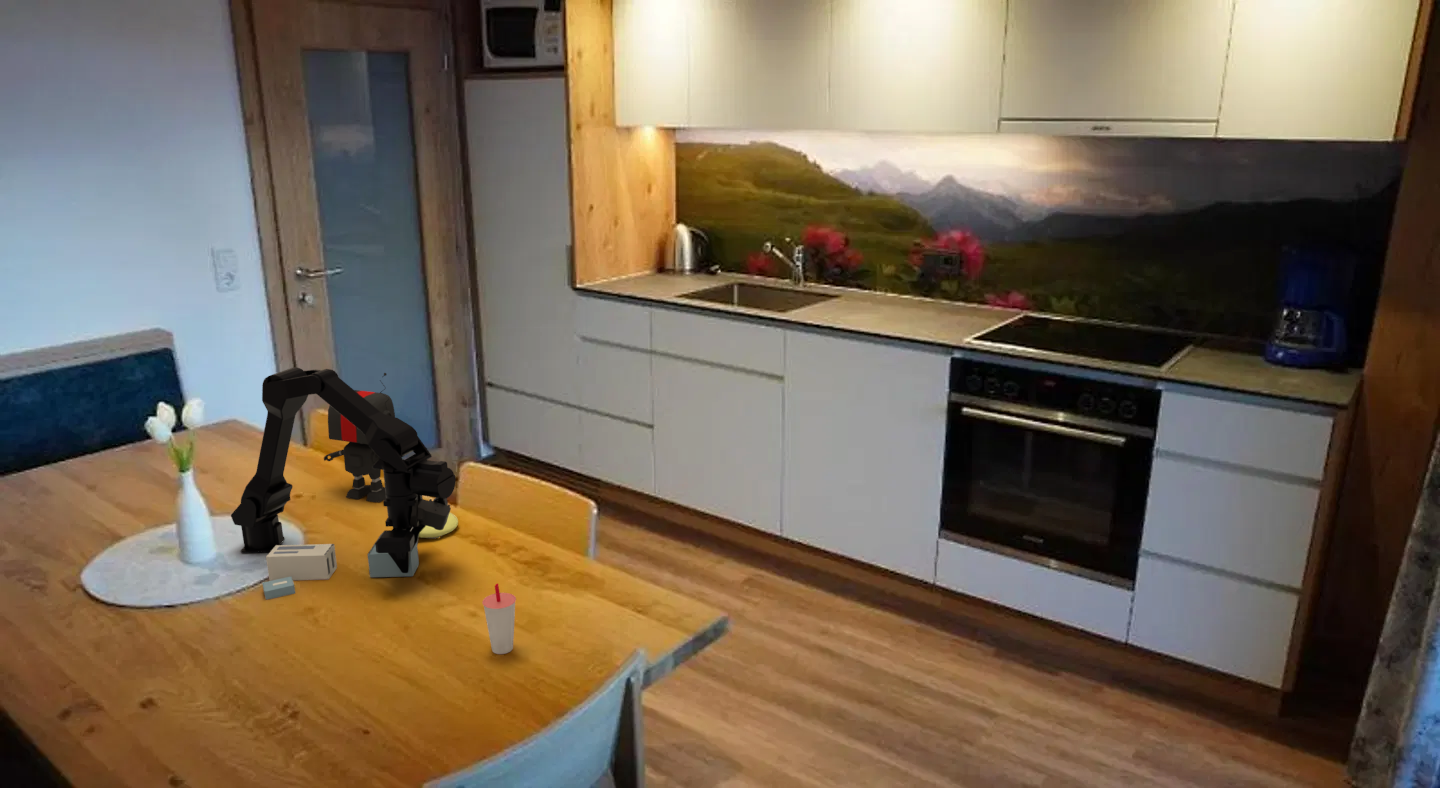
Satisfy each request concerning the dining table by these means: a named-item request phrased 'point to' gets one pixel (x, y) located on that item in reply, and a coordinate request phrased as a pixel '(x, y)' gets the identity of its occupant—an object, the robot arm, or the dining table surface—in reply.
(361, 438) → the toy robot
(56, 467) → the dining table surface
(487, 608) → the cup
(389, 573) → the stub
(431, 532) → the emoji
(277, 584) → the torn stub
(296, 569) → the block
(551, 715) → the dining table surface
